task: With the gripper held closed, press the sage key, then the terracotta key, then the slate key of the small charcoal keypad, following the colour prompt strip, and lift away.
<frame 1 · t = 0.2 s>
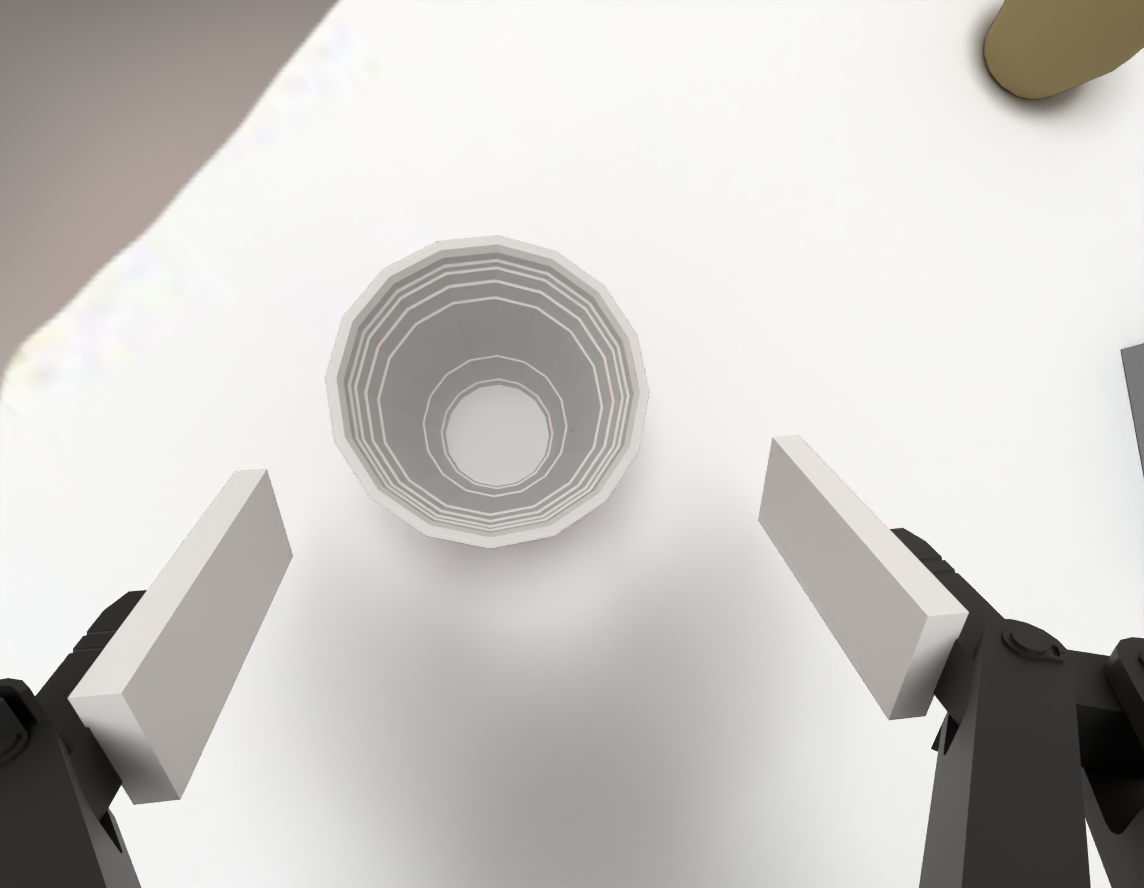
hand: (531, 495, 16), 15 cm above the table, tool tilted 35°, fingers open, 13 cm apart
squeeze bottle: (1021, 61, 38), on the table
plastic cup: (502, 434, 32), on the table
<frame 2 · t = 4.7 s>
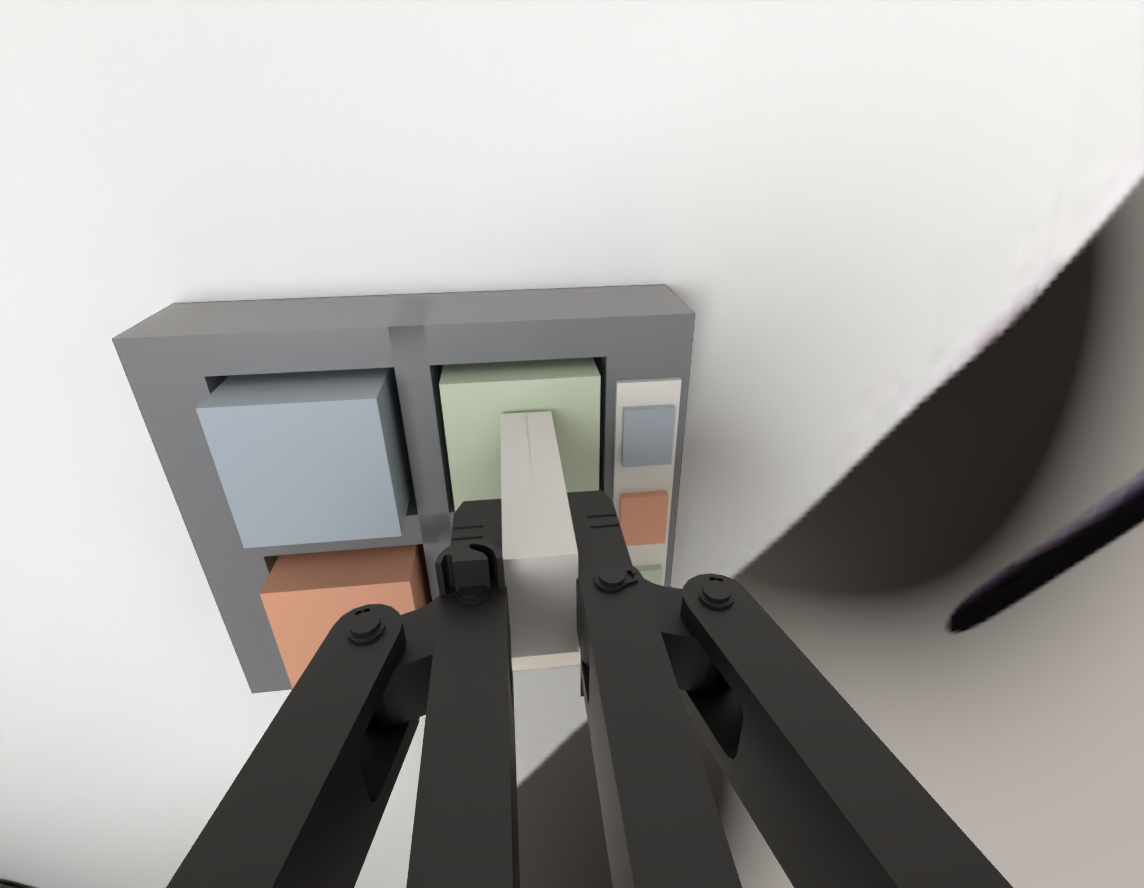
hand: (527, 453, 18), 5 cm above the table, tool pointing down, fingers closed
key cream: (532, 592, 22), point 4 cm above the table, slide at 0.0 cm
key sage: (522, 428, 19), point 3 cm above the table, slide at 0.7 cm, touching gripper
keypad: (451, 473, 23), on the table
key terracotta: (358, 607, 21), point 4 cm above the table, slide at 0.0 cm
key slate: (320, 451, 18), point 4 cm above the table, slide at 0.0 cm
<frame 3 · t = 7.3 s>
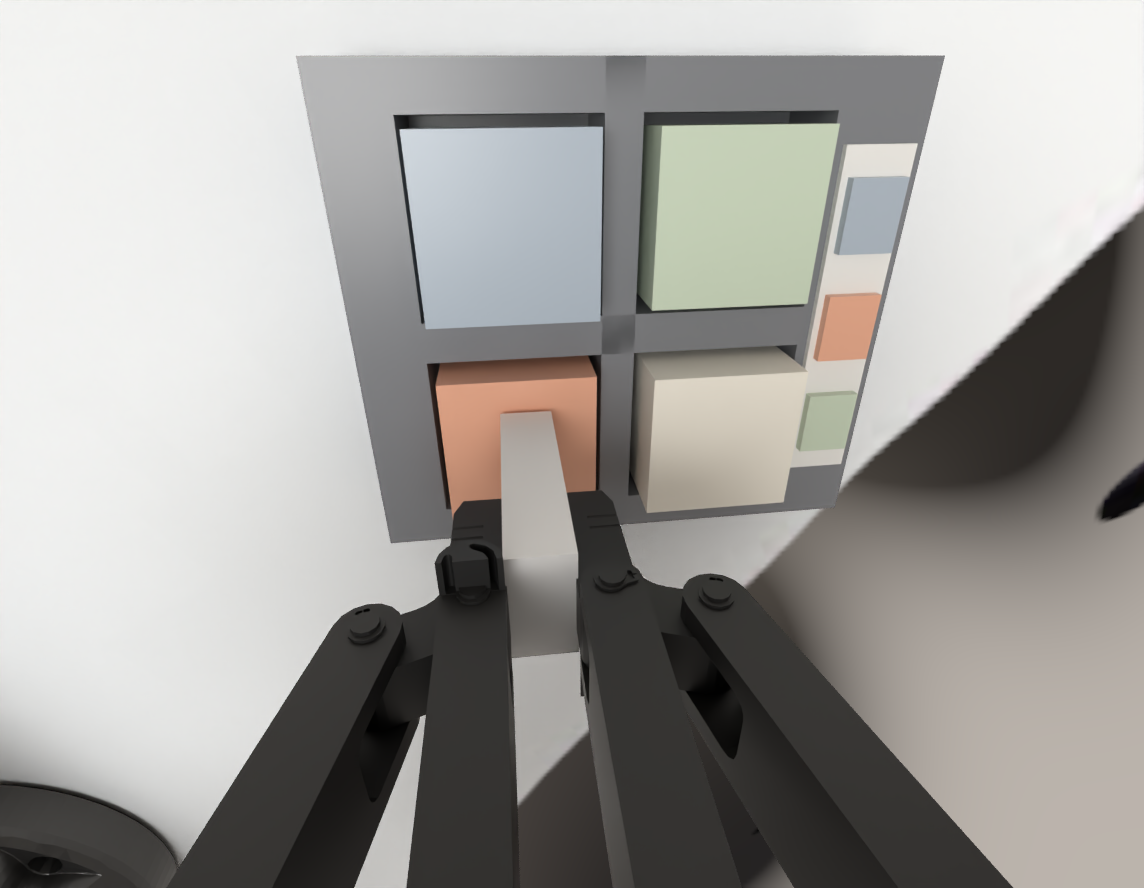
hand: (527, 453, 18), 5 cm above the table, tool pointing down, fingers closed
key cream: (708, 424, 20), point 3 cm above the table, slide at 0.0 cm
key sage: (721, 214, 17), point 3 cm above the table, slide at 0.8 cm
keypad: (608, 302, 21), on the table
key terracotta: (519, 429, 19), point 3 cm above the table, slide at 0.5 cm, touching gripper
key slate: (507, 224, 16), point 3 cm above the table, slide at 0.0 cm
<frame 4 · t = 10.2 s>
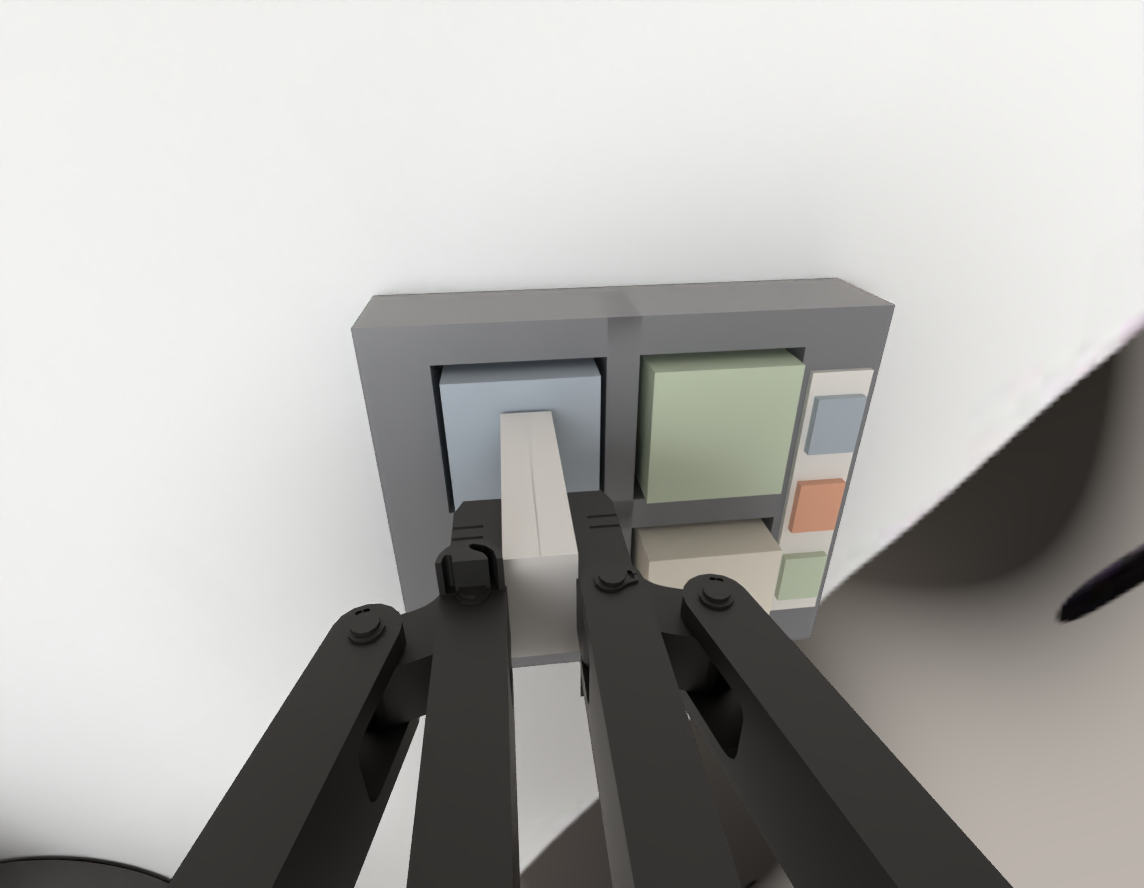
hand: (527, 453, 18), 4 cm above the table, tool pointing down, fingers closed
key cream: (697, 578, 22), point 3 cm above the table, slide at 0.0 cm
key sage: (707, 416, 20), point 3 cm above the table, slide at 0.8 cm
keypad: (609, 463, 24), on the table
key slate: (522, 428, 19), point 3 cm above the table, slide at 0.8 cm, touching gripper
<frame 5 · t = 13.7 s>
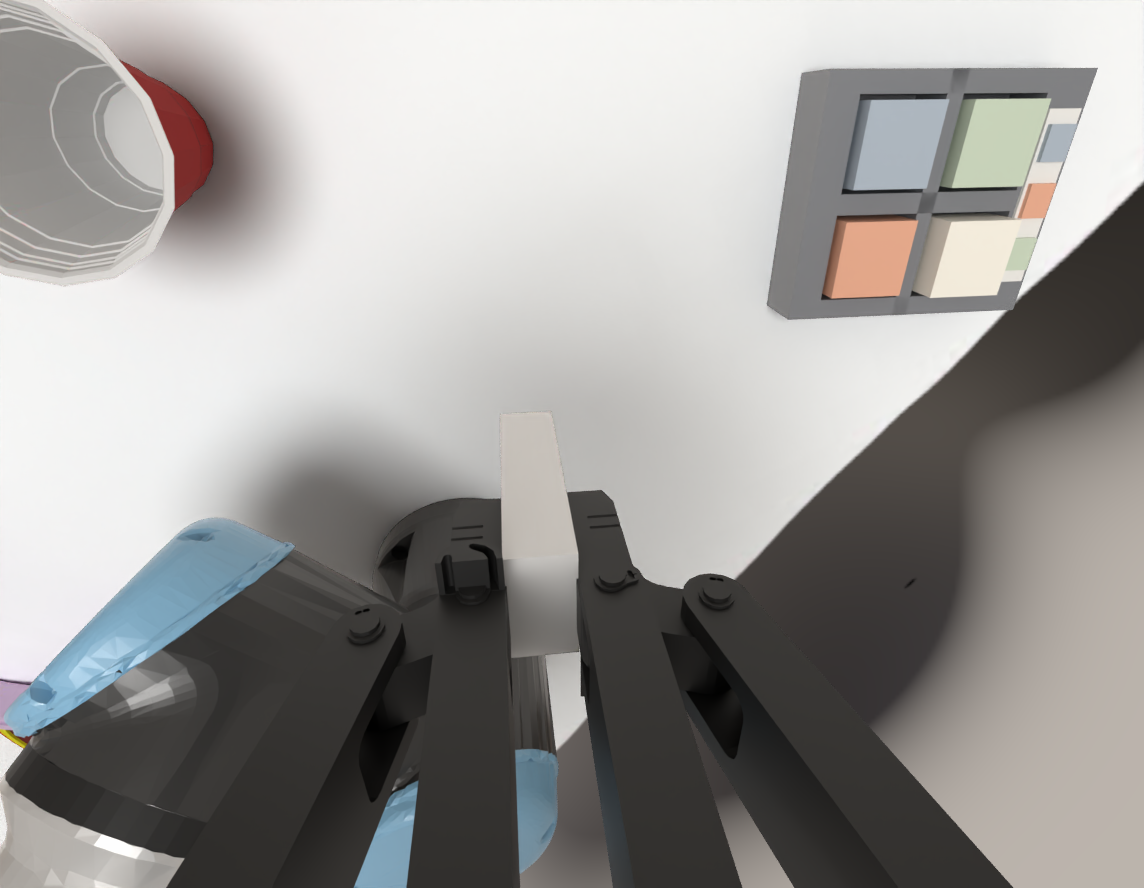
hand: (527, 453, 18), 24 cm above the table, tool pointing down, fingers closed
key cream: (958, 254, 38), point 3 cm above the table, slide at 0.0 cm
key sage: (982, 143, 36), point 3 cm above the table, slide at 0.8 cm
headphones: (3, 638, 49), on the table
keypad: (898, 196, 40), on the table
key terracotta: (861, 255, 38), point 3 cm above the table, slide at 0.8 cm
key slate: (885, 144, 35), point 3 cm above the table, slide at 0.8 cm
plastic cup: (164, 138, 34), on the table
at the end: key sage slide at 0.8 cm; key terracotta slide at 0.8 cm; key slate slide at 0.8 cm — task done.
